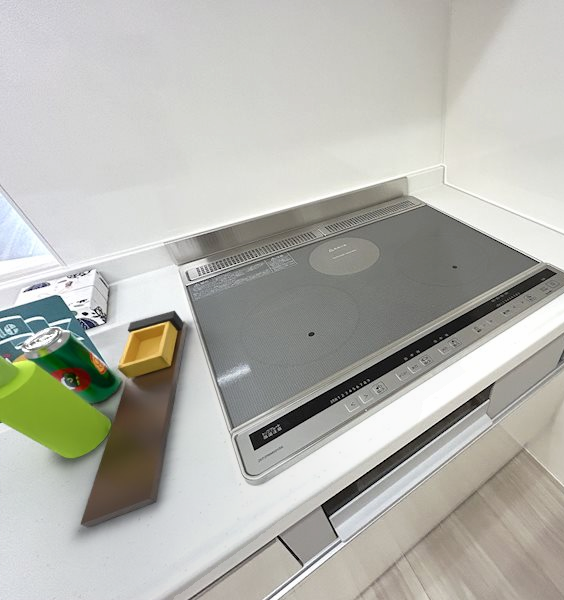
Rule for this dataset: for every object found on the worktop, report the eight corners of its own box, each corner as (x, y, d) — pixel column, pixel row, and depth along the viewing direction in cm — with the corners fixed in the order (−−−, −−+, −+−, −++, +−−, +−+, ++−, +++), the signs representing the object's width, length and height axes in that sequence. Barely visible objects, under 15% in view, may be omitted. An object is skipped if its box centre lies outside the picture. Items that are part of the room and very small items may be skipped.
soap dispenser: (108, 404, 49) (-16, 305, 36) (113, 438, 45) (-26, 340, 32) (60, 429, 47) (-93, 334, 33) (61, 468, 42) (-114, 376, 29)
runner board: (155, 501, 38) (149, 498, 38) (87, 527, 37) (80, 524, 36) (187, 325, 61) (184, 320, 60) (145, 337, 59) (141, 332, 58)
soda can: (129, 384, 52) (71, 332, 44) (94, 410, 48) (25, 359, 40) (113, 372, 54) (55, 320, 46) (78, 396, 51) (10, 345, 43)
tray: (170, 365, 52) (161, 355, 50) (128, 378, 50) (117, 368, 49) (177, 331, 57) (169, 320, 56) (139, 342, 56) (130, 331, 54)
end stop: (182, 329, 58) (173, 317, 56) (138, 342, 57) (127, 330, 55) (183, 322, 60) (174, 310, 58) (141, 334, 58) (130, 322, 56)
